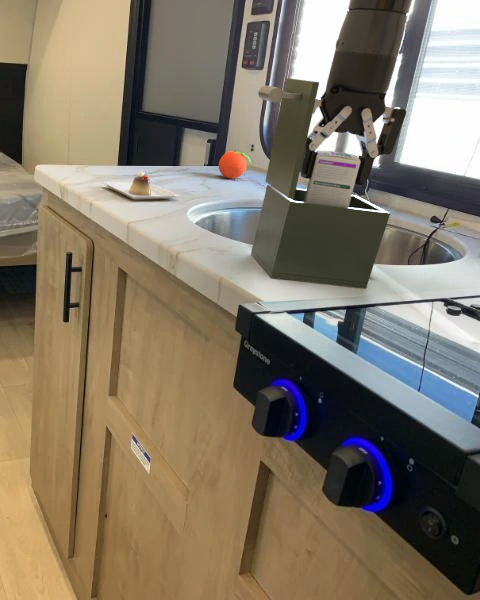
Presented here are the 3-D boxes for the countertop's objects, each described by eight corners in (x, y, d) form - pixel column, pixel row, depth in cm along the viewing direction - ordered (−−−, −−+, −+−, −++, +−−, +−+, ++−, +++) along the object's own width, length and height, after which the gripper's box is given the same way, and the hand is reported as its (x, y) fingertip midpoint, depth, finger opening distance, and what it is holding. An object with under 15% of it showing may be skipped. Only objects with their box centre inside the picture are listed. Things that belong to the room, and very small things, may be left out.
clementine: (248, 179, 157) (254, 152, 154) (245, 183, 150) (252, 155, 148) (218, 174, 159) (223, 147, 156) (214, 177, 153) (219, 149, 150)
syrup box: (333, 264, 84) (364, 159, 78) (290, 255, 85) (317, 152, 80) (331, 253, 89) (360, 154, 83) (290, 245, 90) (316, 148, 85)
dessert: (180, 201, 122) (184, 177, 120) (131, 201, 116) (135, 177, 114) (146, 187, 132) (150, 165, 130) (100, 187, 126) (103, 164, 124)
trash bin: (336, 263, 93) (356, 195, 89) (366, 288, 83) (390, 213, 79) (250, 254, 93) (267, 184, 88) (270, 278, 83) (290, 201, 79)
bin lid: (291, 78, 83) (255, 75, 83) (319, 82, 73) (279, 78, 73) (270, 182, 88) (237, 179, 88) (294, 198, 78) (256, 195, 78)
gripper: (322, 44, 73) (289, 180, 79) (437, 59, 73) (394, 192, 80) (301, 45, 80) (272, 170, 86) (406, 58, 80) (369, 181, 87)
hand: (331, 180), depth 83 cm, fingers closed on syrup box, 7 cm apart
